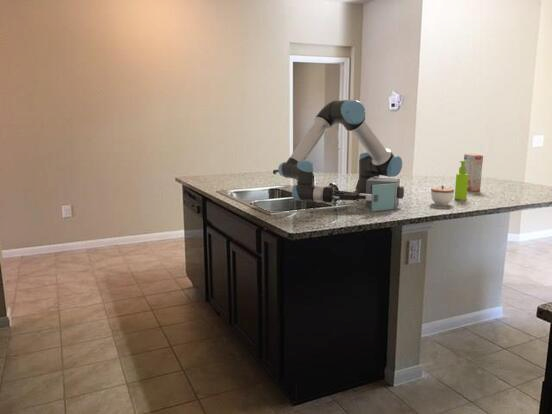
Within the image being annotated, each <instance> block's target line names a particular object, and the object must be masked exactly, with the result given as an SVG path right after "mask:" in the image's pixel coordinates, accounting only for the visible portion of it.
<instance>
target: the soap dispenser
mask: <svg viewBox="0 0 552 414" xmlns="http://www.w3.org/2000/svg"><path fill="white" fill-rule="evenodd" d="M459 162H460V166H459V167H458V168H459V169H458V173H456V175H455V176H456V177H455V186H454V187H455V188H454V199H455V200H467V195H468V190H467V184H468V174H466V167H465V162H468V163H471V162H469V161H464V160H460V161H459Z"/></svg>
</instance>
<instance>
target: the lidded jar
mask: <svg viewBox="0 0 552 414" xmlns="http://www.w3.org/2000/svg"><path fill="white" fill-rule="evenodd" d="M430 190H431V191H430V195H431V200H432V202H433V203H434V204H435V205H437V206H448V205H449V204H450V203H451V202H452V201H453V198H454V195H455V188H450V187H445V186H444V185H441V187H438V186H437V187H432V188H430Z"/></svg>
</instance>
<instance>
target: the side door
mask: <svg viewBox="0 0 552 414" xmlns="http://www.w3.org/2000/svg"><path fill="white" fill-rule="evenodd" d="M396 197H397V183H392V184H380V185H372V204H371V207H370V212H378V211H387V210H396V209H397V207H396Z"/></svg>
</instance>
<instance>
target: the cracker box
mask: <svg viewBox="0 0 552 414" xmlns="http://www.w3.org/2000/svg"><path fill="white" fill-rule="evenodd" d="M483 159H484V156H483V155H482V154H481V155H480V154H475V153H464V155H463V161H469V162H471V163H468V162H465V167H466V174H468V184H467V191H470V192H481V183H482V170H483V163H484V160H483Z"/></svg>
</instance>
